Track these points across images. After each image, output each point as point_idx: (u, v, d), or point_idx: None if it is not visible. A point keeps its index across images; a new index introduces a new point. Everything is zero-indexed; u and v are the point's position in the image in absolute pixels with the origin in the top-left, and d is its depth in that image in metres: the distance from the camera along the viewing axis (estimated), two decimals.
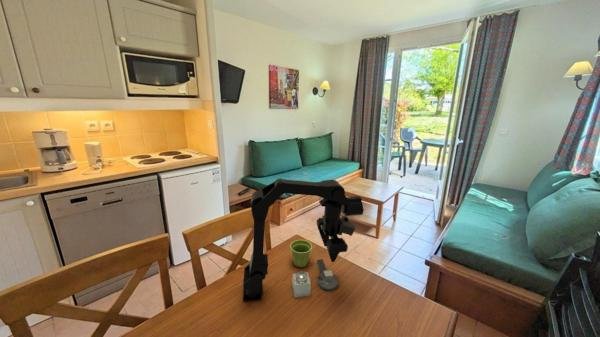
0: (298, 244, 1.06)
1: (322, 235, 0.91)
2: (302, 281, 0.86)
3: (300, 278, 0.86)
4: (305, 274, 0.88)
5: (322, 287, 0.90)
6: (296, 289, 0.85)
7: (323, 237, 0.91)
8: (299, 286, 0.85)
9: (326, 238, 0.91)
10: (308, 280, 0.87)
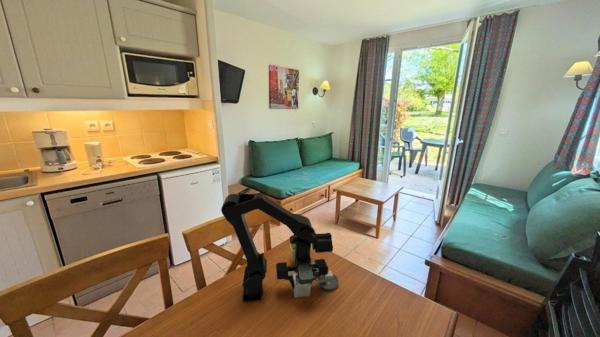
0: None
1: None
2: None
3: None
4: None
5: (322, 287, 0.90)
6: (296, 289, 0.85)
7: None
8: (299, 286, 0.85)
9: None
10: None
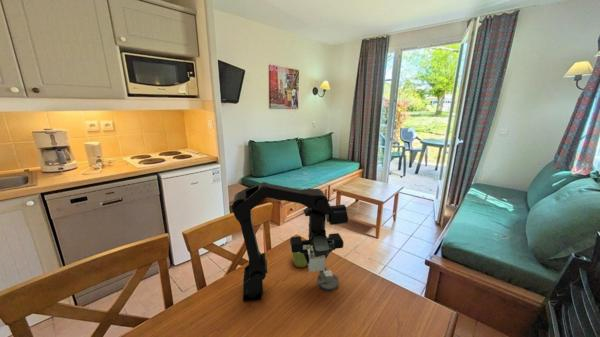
0: None
1: None
2: None
3: None
4: None
5: (322, 287, 0.90)
6: (311, 263, 0.84)
7: None
8: (314, 260, 0.84)
9: None
10: None
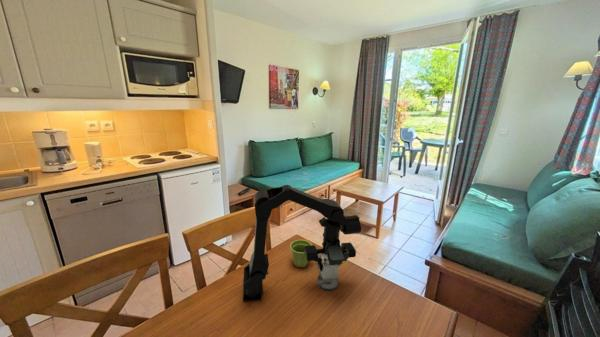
0: (298, 244, 1.06)
1: None
2: None
3: (328, 260, 0.88)
4: None
5: (322, 287, 0.90)
6: (325, 271, 0.88)
7: None
8: (327, 268, 0.88)
9: None
10: None
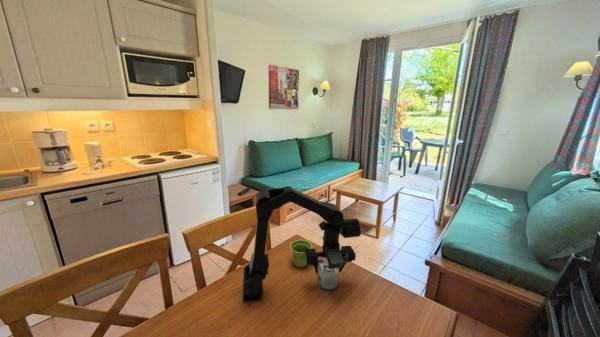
0: (298, 244, 1.06)
1: None
2: (330, 270, 0.89)
3: (328, 267, 0.89)
4: None
5: (322, 287, 0.90)
6: (324, 278, 0.89)
7: None
8: (327, 275, 0.88)
9: None
10: (335, 269, 0.90)
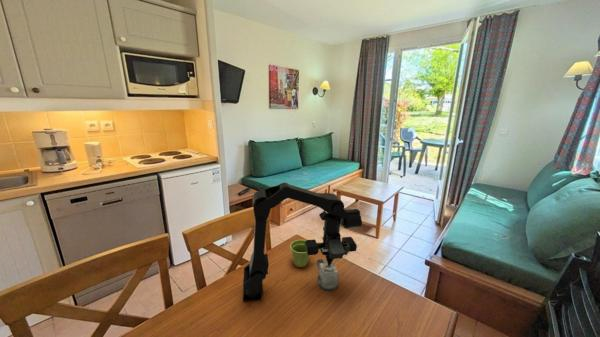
0: (298, 244, 1.06)
1: None
2: (330, 270, 0.89)
3: (328, 267, 0.89)
4: (332, 263, 0.91)
5: (322, 287, 0.90)
6: (324, 277, 0.89)
7: None
8: (327, 275, 0.88)
9: None
10: (335, 269, 0.90)
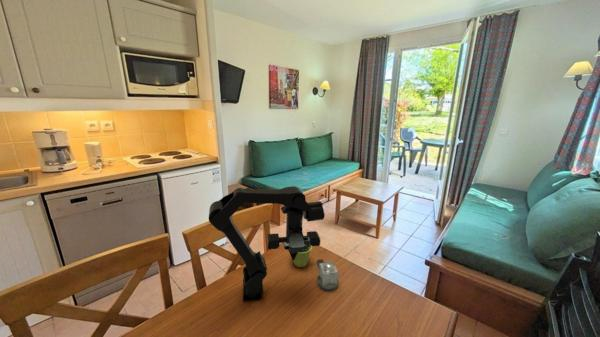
0: None
1: None
2: (330, 270, 0.89)
3: (328, 267, 0.89)
4: (332, 263, 0.91)
5: (322, 287, 0.90)
6: (324, 277, 0.89)
7: None
8: (327, 275, 0.89)
9: None
10: (335, 269, 0.90)
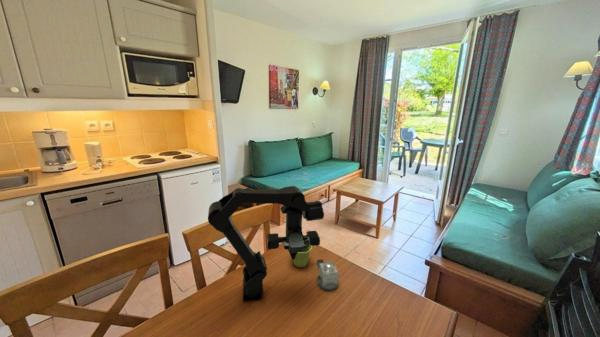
0: None
1: None
2: (330, 270, 0.89)
3: (328, 267, 0.89)
4: (332, 263, 0.91)
5: (322, 287, 0.90)
6: (324, 277, 0.89)
7: None
8: (327, 275, 0.89)
9: None
10: (335, 269, 0.90)
